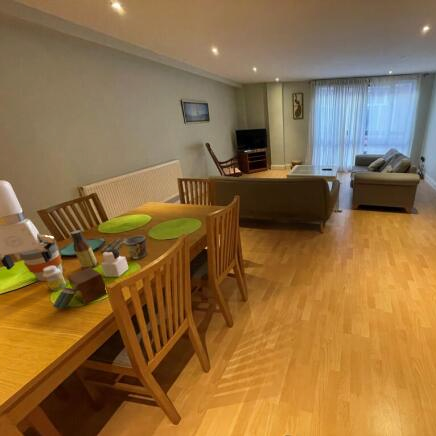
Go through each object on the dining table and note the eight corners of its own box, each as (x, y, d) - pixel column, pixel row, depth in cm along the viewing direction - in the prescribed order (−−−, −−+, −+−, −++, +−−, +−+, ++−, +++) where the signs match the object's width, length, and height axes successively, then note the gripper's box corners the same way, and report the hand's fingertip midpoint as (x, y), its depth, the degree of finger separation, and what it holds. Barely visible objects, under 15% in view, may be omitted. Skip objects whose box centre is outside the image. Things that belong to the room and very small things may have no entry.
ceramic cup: (126, 255, 132) (121, 239, 128) (146, 249, 138) (142, 233, 134) (132, 265, 123) (127, 248, 119) (153, 257, 130) (149, 241, 126)
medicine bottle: (115, 268, 121) (108, 247, 116) (129, 268, 120) (122, 247, 116) (104, 276, 114) (96, 255, 109) (119, 277, 114) (111, 255, 109)
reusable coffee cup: (24, 281, 111) (9, 253, 105) (53, 266, 122) (41, 240, 116) (47, 284, 109) (34, 255, 103) (74, 268, 120) (63, 242, 115)
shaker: (58, 314, 92) (50, 297, 89) (53, 310, 94) (46, 293, 91) (82, 302, 98) (76, 286, 95) (77, 299, 100) (71, 282, 97)
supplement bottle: (52, 285, 108) (43, 266, 104) (68, 281, 110) (60, 263, 107) (47, 292, 103) (38, 273, 100) (64, 289, 106) (55, 269, 102)
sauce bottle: (92, 261, 126) (80, 227, 119) (100, 264, 124) (88, 229, 116) (78, 268, 120) (64, 233, 113) (86, 271, 118) (72, 235, 111)
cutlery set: (75, 242, 146) (73, 239, 145) (129, 238, 151) (128, 235, 150) (51, 260, 128) (49, 256, 127) (113, 254, 133) (112, 250, 132)
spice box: (86, 304, 97) (77, 284, 93) (75, 296, 101) (66, 276, 98) (108, 293, 103) (101, 273, 99) (96, 285, 108) (89, 267, 104)
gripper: (-39, 228, 71) (-11, 276, 77) (39, 218, 79) (59, 262, 85) (-24, 220, 77) (1, 265, 84) (47, 211, 85) (65, 253, 91)
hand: (30, 263), depth 84 cm, fingers open, 9 cm apart
